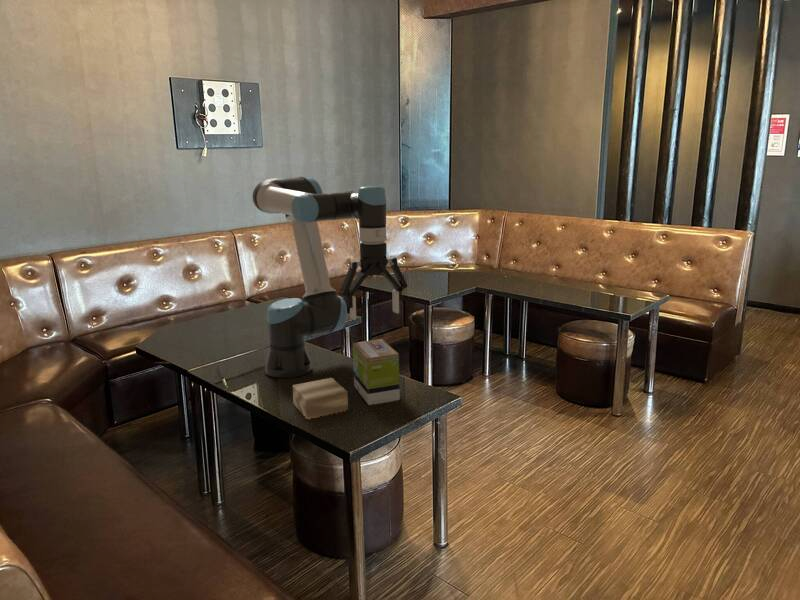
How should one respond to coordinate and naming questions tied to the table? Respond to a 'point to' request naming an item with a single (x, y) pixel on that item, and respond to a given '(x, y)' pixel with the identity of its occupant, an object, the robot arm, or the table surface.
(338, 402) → the oak block
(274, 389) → the table surface
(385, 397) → the tea box
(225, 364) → the table surface
